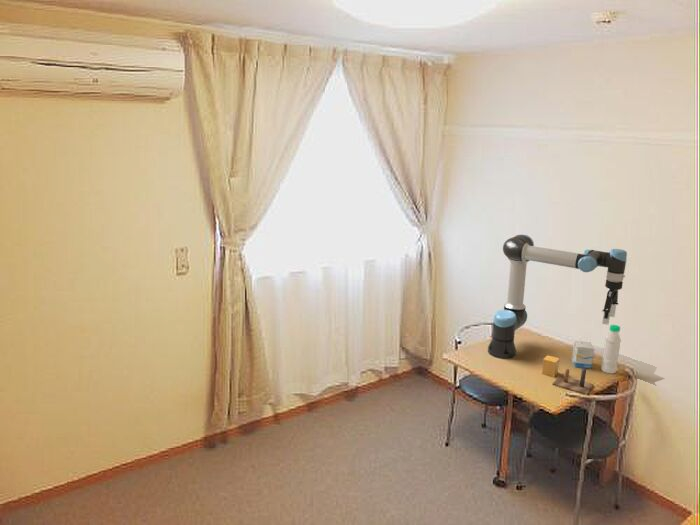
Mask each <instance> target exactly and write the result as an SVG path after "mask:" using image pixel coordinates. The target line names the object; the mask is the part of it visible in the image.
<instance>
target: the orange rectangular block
mask: <svg viewBox="0 0 700 525" xmlns="http://www.w3.org/2000/svg"><path fill="white" fill-rule="evenodd" d="M559 364H560V358H559V357H556V356H552V355H546V356H545V357H544V358H543V362H542V370H541V371H542V372H541V374H543V375H546V376H548V377H553V378H555V376H556V375H557V374H558V373H559V372H558V371H559Z"/></svg>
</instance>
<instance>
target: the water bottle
mask: <svg viewBox="0 0 700 525" xmlns="http://www.w3.org/2000/svg"><path fill="white" fill-rule="evenodd" d="M620 331H621V326H619V325H616V324H611V325H610V326H609V332H608V333H607V335H606V336H605V342H604V348H603V356H602V359H601V360H602V361H601V366H600V369H601V371H602V372H603V373H605V374H616V372H617V367H618V366H617V365H618V358H619V354H620V348H621V342H622V339H621V336H620V334H619V333H620Z"/></svg>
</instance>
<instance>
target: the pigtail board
mask: <svg viewBox="0 0 700 525" xmlns="http://www.w3.org/2000/svg"><path fill="white" fill-rule="evenodd" d="M580 372H581V373H580V379H577V378H573V377H571V376H570V377H569V375H570V369H569V368H565V369H564V375H563V374H559V375H558V377H556V379H555V380H554V381H553V382H552V386H554V385H555V387H558V388H561V387H562V389H564V388H565V389H564V390H569V391H572V392H575V393H578V394H581V393H582V395H584V394H587V395H589V393H590V392H591V390H592V389H593V388H594V383H591V382H587V381H586V375H587V374H586V373H587V368H581V371H580Z"/></svg>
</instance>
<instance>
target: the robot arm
mask: <svg viewBox="0 0 700 525" xmlns="http://www.w3.org/2000/svg"><path fill="white" fill-rule="evenodd" d="M502 252H503V254H504V255H505V257H506V258H507V259H508V261H510V265H509V276H508V277H509V278H508V291H507V301H506V302H505V303H504V306H503V309H502V310H498V311H496V312H495V313H494V315H493V318H492V319H493V320H492V321H493V322H492V323H493V324H492V334H491V335H492V336H491V340H490V342H489V344H488V346H487V352H488V354H489V355H491V356H493V357H495V358H498V359H512V358H514V357H516V355H517V349H516V344H515V331H517V330H518V329H520V328H521V327H523V326H524V324H525V323H526V322H527V321H528V320H527V319H528V313H527V311H526V307H527V306H526V305H525V304H524V298H525V286H526V274H527V264H528V263H529V262H530V261H531V262H538V263H543V264H549V265H554V266H560V267H566V268H571V269H577V270H580V271H582V272H583V273H589V272H593V271H595V269H596V268H598V267H603V268H607V271H606V275H605V276H606V280H605V284H604V286H605V288H607V289H609V290H608V291H607V292H606V298H605V303H604V307H603V309H602V312H603V315H602V316H603V317H602V325H606V326H607V325H609V324H610V319H611V318H615V315H616V310H617V306H618V305H619V300H618V298H619V290H622V289H623V283H624V282H623V281H624V278H625V277H626V275H625V270H626V264H627V258H628V257H627V256H628V252H627V251H626V250H625V249H620V248H612V249H610V250H609V252H608V251H607V252H606V251H601V250H595V249H585V250H584V251H583V253H579V252H578V253H577V252H572V251H566V250H558V249H552V248H546V247H540V246H535V244H534V240H533V239H532V238H531V236H529V235H527V234H524V233H523V234H517V235H515V236H513V237H510V238H508V239H506V240H505V242H504V243H503V246H502ZM610 317H611V318H610Z"/></svg>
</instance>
